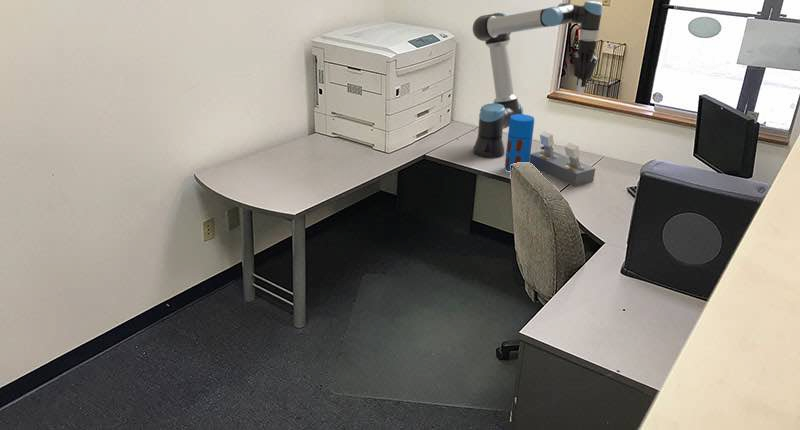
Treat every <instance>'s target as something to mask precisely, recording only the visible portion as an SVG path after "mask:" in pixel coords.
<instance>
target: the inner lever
mask: <svg viewBox="0 0 800 430" xmlns="http://www.w3.org/2000/svg"><path fill="white" fill-rule="evenodd" d="M553 135H554V134H553V133H549V132H547V131H544V130H543V132H542V133H540V134H539V138H540V144H541V145H543V150H544V152H545V154H546V155H548V156H550V157H551V156H552V155H553V151H554V150H553V145H554V144H555V142H554V136H553Z"/></svg>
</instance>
